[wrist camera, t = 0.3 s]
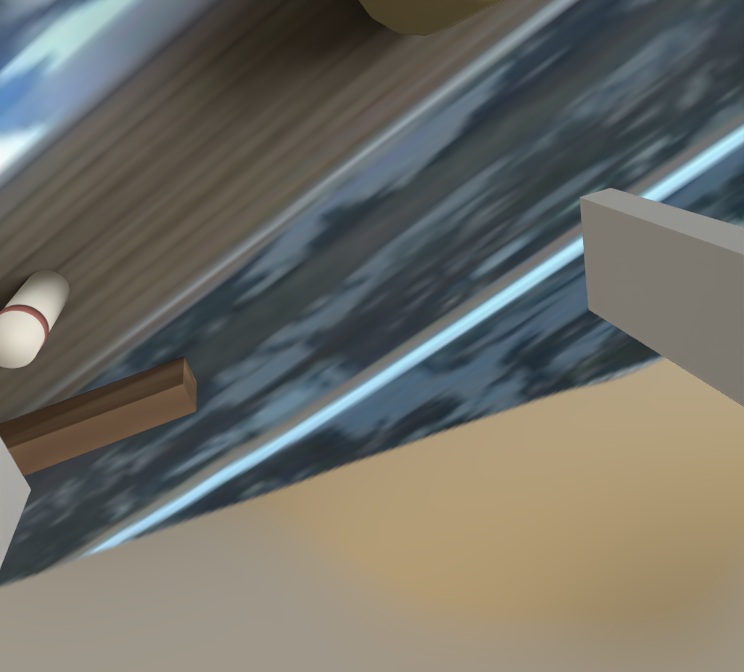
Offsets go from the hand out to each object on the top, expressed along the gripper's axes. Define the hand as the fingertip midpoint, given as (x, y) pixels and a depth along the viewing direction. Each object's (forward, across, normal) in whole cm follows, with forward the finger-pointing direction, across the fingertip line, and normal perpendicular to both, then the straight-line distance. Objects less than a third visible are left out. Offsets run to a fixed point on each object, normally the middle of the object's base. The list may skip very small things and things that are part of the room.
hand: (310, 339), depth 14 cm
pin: (+27, -13, -4) cm, 30 cm away
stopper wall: (+27, -15, -12) cm, 33 cm away
